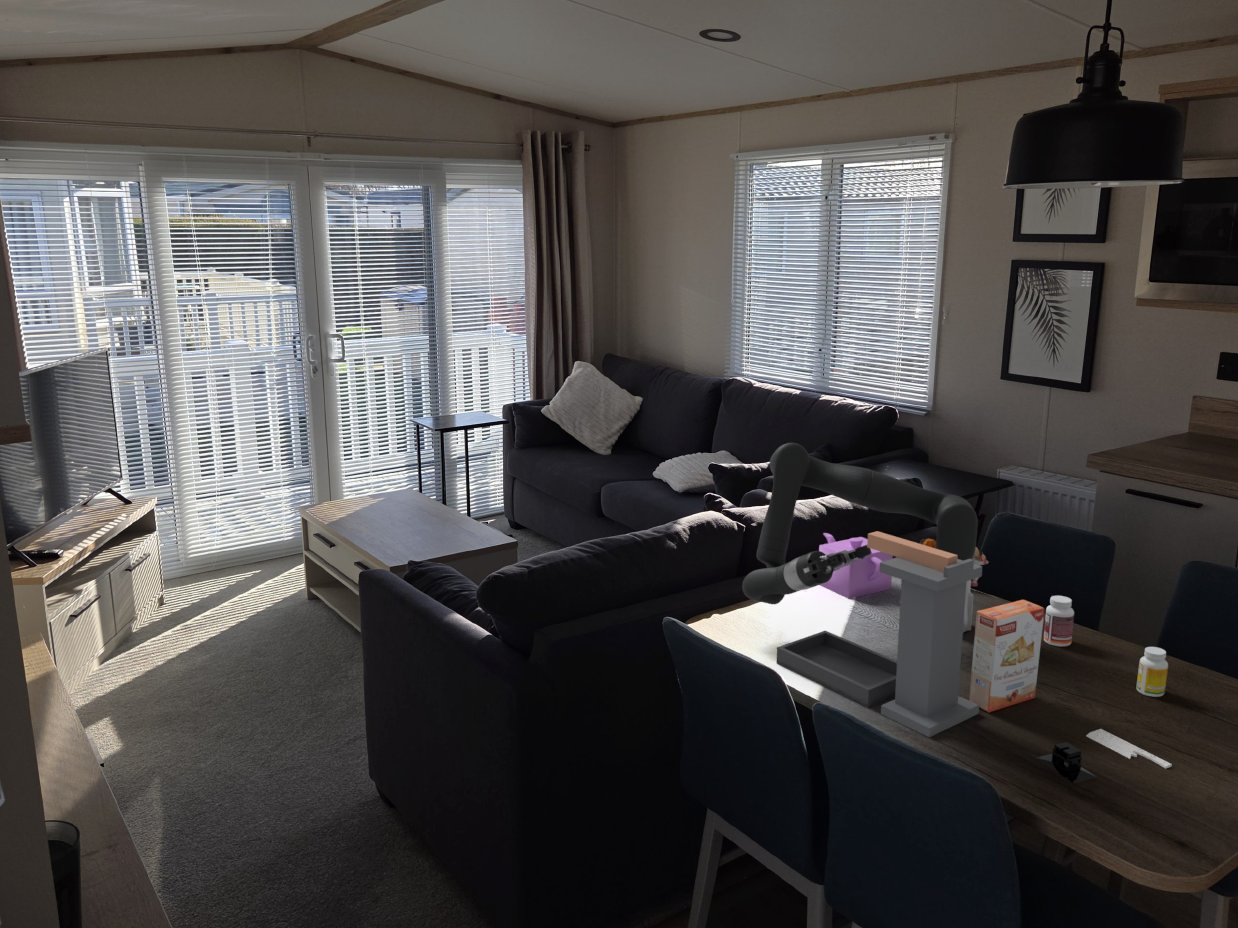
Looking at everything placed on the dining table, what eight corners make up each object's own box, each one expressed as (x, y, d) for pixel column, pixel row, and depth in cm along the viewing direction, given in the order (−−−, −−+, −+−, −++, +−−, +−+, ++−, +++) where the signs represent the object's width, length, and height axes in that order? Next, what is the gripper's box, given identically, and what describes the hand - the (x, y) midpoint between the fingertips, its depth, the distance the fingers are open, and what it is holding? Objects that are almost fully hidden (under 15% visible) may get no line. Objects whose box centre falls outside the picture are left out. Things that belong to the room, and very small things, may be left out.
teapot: (842, 568, 290) (844, 522, 286) (903, 594, 268) (906, 545, 265) (801, 577, 283) (803, 530, 280) (860, 605, 261) (863, 555, 258)
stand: (869, 708, 205) (877, 554, 197) (918, 687, 214) (927, 538, 206) (929, 737, 193) (939, 574, 185) (978, 713, 202) (990, 557, 194)
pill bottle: (1076, 643, 235) (1081, 600, 233) (1061, 649, 232) (1065, 605, 229) (1053, 634, 240) (1057, 592, 238) (1037, 640, 237) (1041, 597, 234)
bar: (867, 547, 208) (867, 533, 207) (876, 544, 209) (877, 531, 209) (947, 572, 192) (948, 558, 191) (956, 569, 194) (957, 555, 193)
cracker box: (990, 714, 202) (997, 619, 197) (967, 702, 207) (974, 609, 202) (1037, 699, 208) (1046, 606, 203) (1014, 687, 213) (1022, 597, 208)
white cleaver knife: (1153, 775, 180) (1153, 769, 180) (1083, 738, 193) (1083, 733, 193) (1171, 767, 182) (1172, 762, 182) (1101, 732, 195) (1101, 727, 195)
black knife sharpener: (1026, 757, 187) (1027, 735, 186) (1056, 750, 189) (1058, 728, 188) (1076, 791, 175) (1079, 767, 174) (1108, 782, 178) (1110, 759, 177)
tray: (776, 663, 227) (776, 647, 226) (824, 645, 236) (825, 630, 235) (867, 707, 206) (868, 689, 205) (916, 686, 215) (917, 669, 214)
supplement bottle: (1130, 689, 212) (1135, 648, 210) (1147, 684, 214) (1152, 643, 212) (1153, 699, 207) (1158, 657, 205) (1170, 694, 209) (1175, 652, 207)
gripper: (779, 562, 222) (827, 543, 209) (823, 549, 230) (872, 530, 217) (791, 593, 221) (839, 576, 208) (834, 580, 229) (884, 562, 216)
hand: (856, 553), depth 213 cm, fingers open, 8 cm apart
